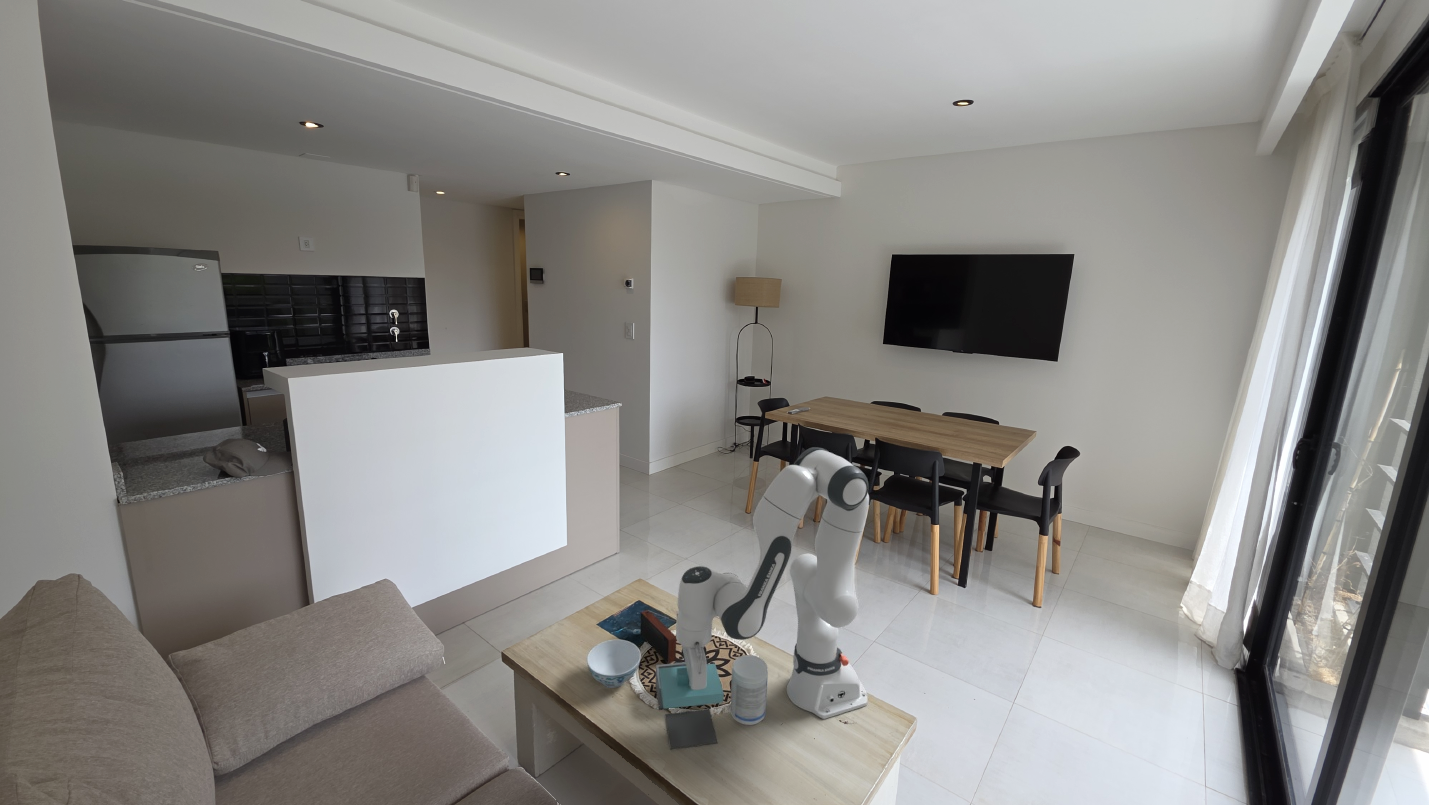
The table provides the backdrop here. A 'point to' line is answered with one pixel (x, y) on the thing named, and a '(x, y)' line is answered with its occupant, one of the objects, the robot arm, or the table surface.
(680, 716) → the mat
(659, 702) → the storage box
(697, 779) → the table surface
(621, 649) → the chinaware
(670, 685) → the lid
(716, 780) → the table surface
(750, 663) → the supplement tub
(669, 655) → the radio
